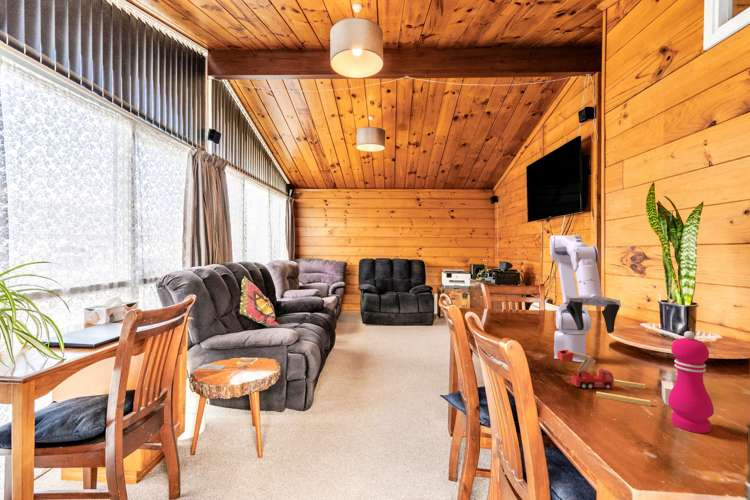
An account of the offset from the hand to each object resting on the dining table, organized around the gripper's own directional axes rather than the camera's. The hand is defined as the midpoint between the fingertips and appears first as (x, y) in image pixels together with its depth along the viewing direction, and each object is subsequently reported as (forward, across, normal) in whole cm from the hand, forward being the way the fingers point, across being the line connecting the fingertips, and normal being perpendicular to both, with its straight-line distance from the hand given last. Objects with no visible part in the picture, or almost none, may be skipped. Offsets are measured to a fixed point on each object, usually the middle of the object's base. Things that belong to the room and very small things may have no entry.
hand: (595, 330), depth 98 cm
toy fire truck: (+14, -2, +7) cm, 16 cm away
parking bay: (+15, +8, +2) cm, 17 cm away
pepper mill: (+23, +10, -12) cm, 28 cm away
